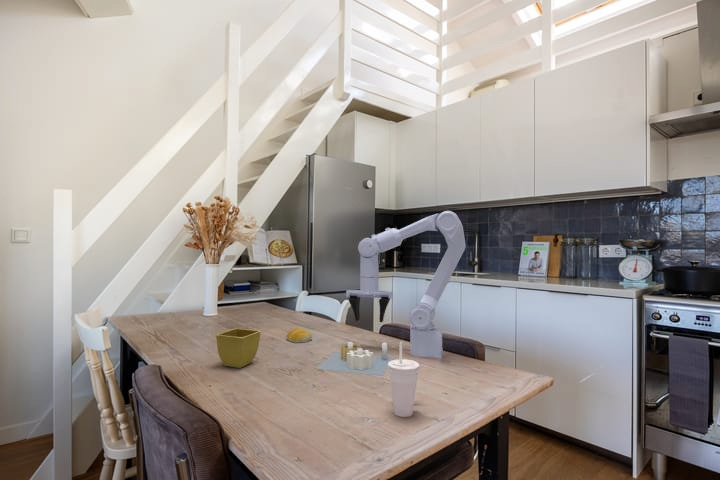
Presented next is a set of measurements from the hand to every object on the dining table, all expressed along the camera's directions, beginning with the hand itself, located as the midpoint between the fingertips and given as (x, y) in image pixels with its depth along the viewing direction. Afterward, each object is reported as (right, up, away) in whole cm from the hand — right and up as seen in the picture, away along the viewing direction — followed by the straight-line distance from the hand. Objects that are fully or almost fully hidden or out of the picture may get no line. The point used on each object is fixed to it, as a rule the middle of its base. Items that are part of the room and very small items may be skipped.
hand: (369, 320), depth 116 cm
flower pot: (-37, -10, -12) cm, 40 cm away
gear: (-3, -8, -16) cm, 19 cm away
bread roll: (-24, -11, +16) cm, 31 cm away
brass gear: (-5, -9, -10) cm, 14 cm away
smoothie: (+6, -10, -42) cm, 43 cm away
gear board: (-4, -10, -14) cm, 17 cm away
